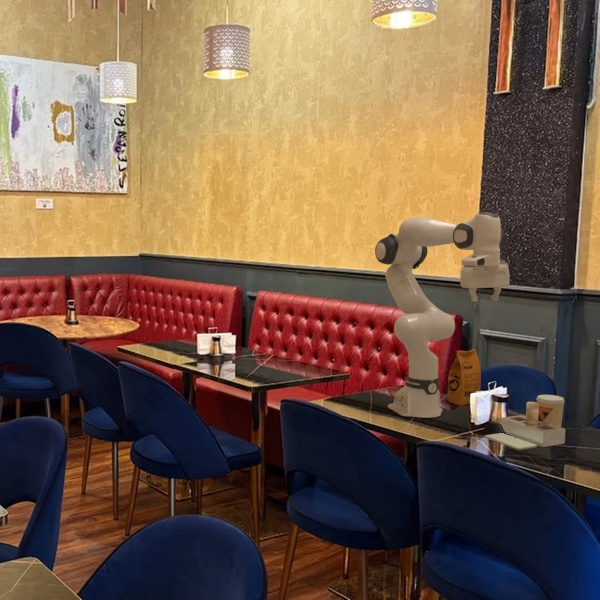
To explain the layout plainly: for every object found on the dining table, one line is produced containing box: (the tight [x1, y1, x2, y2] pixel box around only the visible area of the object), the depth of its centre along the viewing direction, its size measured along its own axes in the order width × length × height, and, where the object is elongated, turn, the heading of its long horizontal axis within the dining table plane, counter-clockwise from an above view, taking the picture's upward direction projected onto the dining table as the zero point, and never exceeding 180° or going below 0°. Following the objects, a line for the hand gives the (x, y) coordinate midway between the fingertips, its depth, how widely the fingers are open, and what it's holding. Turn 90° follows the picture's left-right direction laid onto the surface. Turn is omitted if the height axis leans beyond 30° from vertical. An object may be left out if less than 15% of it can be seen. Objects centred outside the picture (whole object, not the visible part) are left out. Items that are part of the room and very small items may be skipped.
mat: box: [484, 432, 538, 451], centre depth 240 cm, size 16×8×1 cm, turn 27°
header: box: [499, 414, 566, 448], centre depth 245 cm, size 20×10×5 cm, turn 27°
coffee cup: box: [536, 394, 565, 428], centre depth 254 cm, size 9×9×12 cm
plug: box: [525, 401, 539, 426], centre depth 245 cm, size 4×4×12 cm
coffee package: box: [446, 348, 482, 407], centre depth 295 cm, size 10×12×22 cm
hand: (484, 301), depth 244 cm, fingers open, 8 cm apart
